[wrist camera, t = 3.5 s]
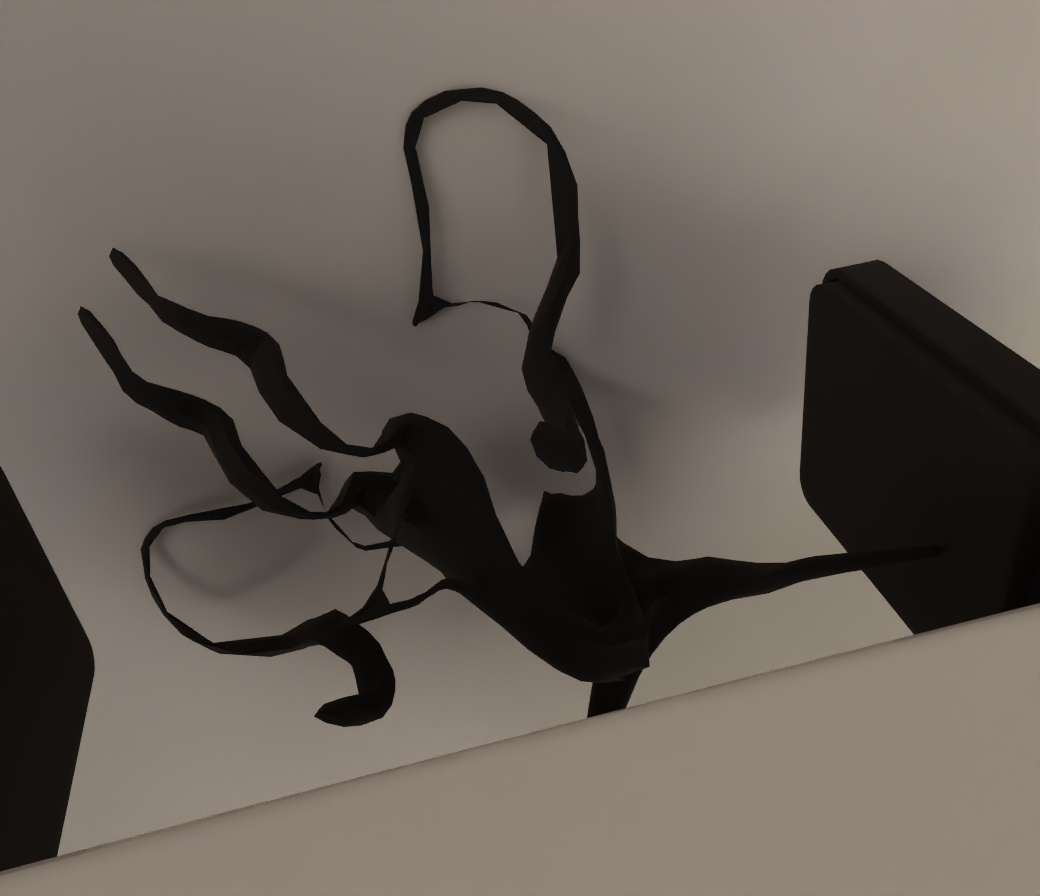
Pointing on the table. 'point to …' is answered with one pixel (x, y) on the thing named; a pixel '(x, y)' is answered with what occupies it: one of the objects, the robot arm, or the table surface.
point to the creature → (467, 493)
